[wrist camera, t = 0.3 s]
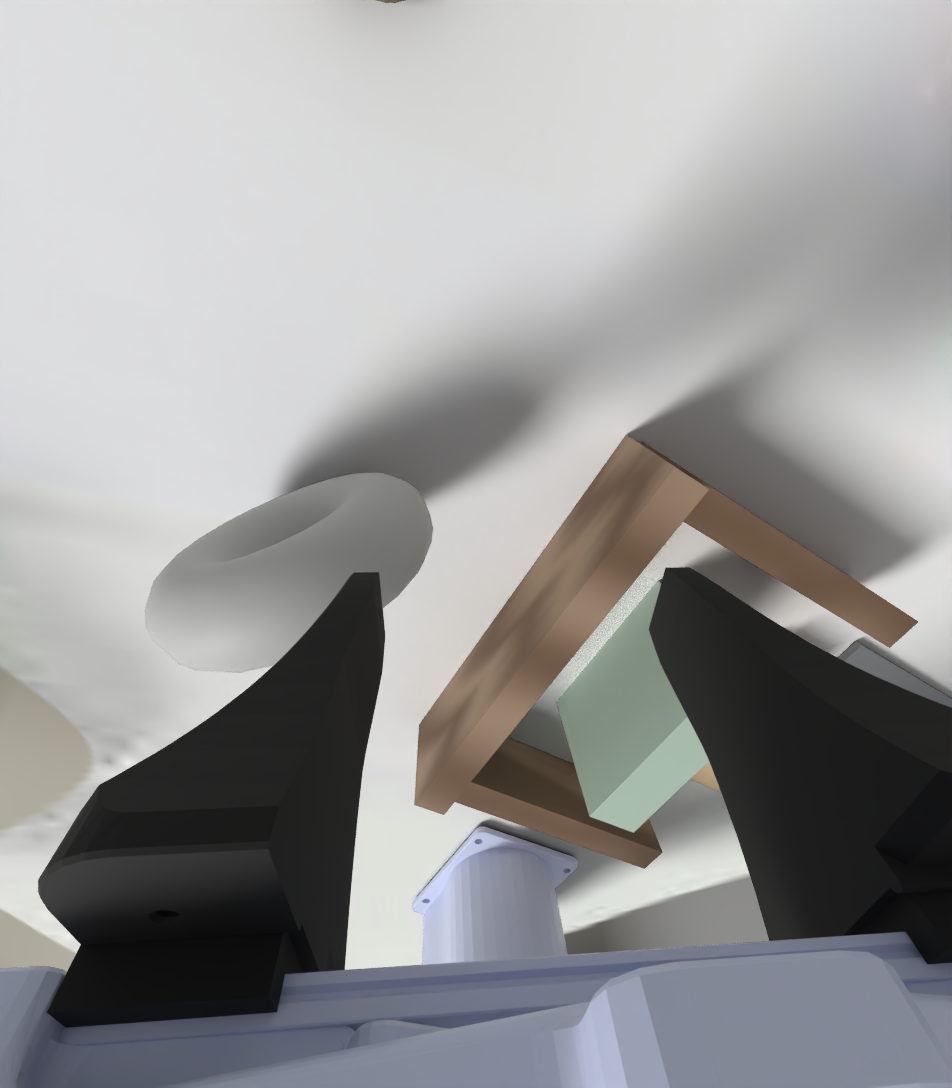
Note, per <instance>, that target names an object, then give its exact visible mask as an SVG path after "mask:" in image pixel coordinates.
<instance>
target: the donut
mask: <svg viewBox="0 0 952 1088" xmlns="http://www.w3.org/2000/svg"><path fill="white" fill-rule="evenodd" d="M432 532H433V526H432V522H431V517H430V514H429V511H428V508H427V506H426V503H425V501H424V500H423V498H422V496H421V495H420V493H419V491H418V490H417V489H415V488H414V487H413V486H412V485H411V484H409V483H408V482H406V481H404V480H401V479H399V478H396V477H394V476H391V475H387V474H384V473H354V474H349V475H345V476H340V477H335V478H331V479H328V480H325V481H321V482H318V483H315V484H312V485H309V486H306V487H303V488H300V489H298V490H295V491H293V492H290V493H287V494H285V495H282V496H280V497H277V498H275V499H273V500H271V501H268V502H266V503H264V504H262V505H260V506H257V507H255V508H253V509H251V510H249V511H247V512H245V513H243V514H241V515H239V516H237V517H235V518H233V519H232V520H230V521H228V522H226V523H224V524H222V525H220V526H219V527H217V528H216V529H214V530H212V531H211V532H209V533H207V534H206V535H204V536H202V537H201V538H199V539H198V540H196V541H195V542H194V543H192V544H191V545H190V546H188V547H187V548H186V549H184V550H183V551H182V552H180V553H179V554H178V555H176V556H175V558H174V559H173V560H172V561H171V562H170V563H169V564H168V565H167V566H166V567H165V568H164V569H163V571H162V572H161V573H160V574H159V575H158V577H157V578H156V579H155V580H154V582H153V585H152V588H151V591H150V594H149V597H148V601H147V604H146V608H145V622H146V628H147V630H148V632H149V634H150V636H151V638H152V641H153V642H154V643H155V644H156V645H158V646H159V647H160V648H161V649H162V650H163V651H164V652H165V653H166V654H168V655H169V656H170V657H171V658H172V659H173V660H175V661H176V662H177V663H178V664H180V665H182V666H185V667H187V668H190V669H192V670H195V671H212V672H232V673H242V672H246V671H251V670H255V669H260V668H264V667H269V666H273V665H275V664H276V663H277V662H278V661H279V660H280V659H281V658H282V657H283V656H284V655H285V654H286V653H287V652H288V651H289V650H290V649H291V648H292V647H293V645H294V644H295V643H296V642H297V641H298V640H299V639H300V638H301V637H302V636H303V635H304V634H305V633H306V632H307V630H308V629H309V628H310V627H311V626H312V625H313V623H314V622H315V621H316V620H317V619H318V617H319V616H320V615H321V614H322V613H323V611H324V610H325V609H326V608H327V606H328V605H329V604H330V603H331V601H332V600H333V599H334V597H335V596H336V595H337V593H338V592H339V591H340V589H341V588H342V587H343V585H344V584H345V582H346V581H347V580H348V578H349V577H350V576H351V575H352V574H353V573H354V572H379V576H380V586H381V597H382V608H383V607H385V606H386V605H387V604H389V603H390V602H391V601H392V600H394V599H395V598H396V597H397V596H398V595H399V594H400V593H401V592H402V591H403V589H404V588H405V587H406V586H407V585H408V584H409V582H410V581H411V580H412V579H413V578H414V577H415V575H416V574H417V573H418V571H419V570H420V568H421V566H422V564H423V562H424V559H425V557H426V554H427V552H428V549H429V546H430V544H431V540H432Z"/></svg>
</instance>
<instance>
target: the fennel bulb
mask: <svg viewBox="0 0 952 1088" xmlns="http://www.w3.org/2000/svg"><path fill="white" fill-rule="evenodd" d="M378 1H381V2H385V3H389V2H391V3H396V2H399V1H404V0H378Z"/></svg>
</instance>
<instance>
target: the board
mask: <svg viewBox="0 0 952 1088" xmlns="http://www.w3.org/2000/svg"><path fill="white" fill-rule="evenodd" d="M660 586H661V582H659V581H657V583H656V584H655V585H654V586H653V587H652V589H651V590H650V591H649V592H648V593H647V595H646V596H645V597H644V598H643V599H642V601H641V602H640V603H639V604H638V605H637V607H636V608H635V609H634V610H633V611H632V613H631V614H630V615H629V616H628V617H627V618H626V620H625V621H624V622H623V623H622V624H621V626H620V627H619V628H618V629H617V630H616V632H615V633H614V634H613V635H612V636H611V638H610V639H609V640H608V641H607V642H606V644H605V645H604V646H603V647H602V648H601V650H600V651H599V652H598V653H597V654H596V656H595V657H594V658H593V659H592V660H591V662H590V663H589V664H588V665H587V666H586V668H585V669H584V670H583V671H582V672H581V674H580V675H579V676H578V677H577V678H576V680H575V681H574V682H573V683H572V684H571V685H570V687H569V688H568V689H567V690H566V691H565V693H564V694H563V695H562V696H561V697H560V699H559V700H558V701H557V702H556V703H557V707H558V710H559V713H560V717H561V720H562V724H563V727H564V731H565V734H566V738H567V741H568V744H569V748H570V751H571V755H572V758H573V762H574V765H575V768H576V772H577V775H578V779H579V782H580V786H581V789H582V792H583V796H584V799H585V803H586V806H587V810H588V813H589V816H590V817H592V818H595V819H598V820H600V821H603V822H606V823H609V824H611V825H614V826H617V827H619V828H622V829H625V830H627V831H630V832H633V833H634V832H635V831H636V830H637V829H638V828H639V827H640V826H641V825H642V824H643V823H644V822H645V821H646V820H647V819H648V818H650V817H651V816H652V815H653V814H654V813H655V812H656V811H657V810H658V809H659V808H660V807H661V806H662V805H663V804H664V803H665V802H666V801H667V800H668V799H670V798H671V797H672V796H673V795H674V794H675V793H676V792H677V791H678V790H679V789H680V788H681V787H682V786H683V785H684V784H685V783H686V782H687V781H688V780H690V779H691V778H692V777H693V776H694V775H695V774H696V773H697V772H698V771H699V770H700V769H701V768H702V767H703V766H704V765H705V764H706V763H707V762H708V761H709V759H708V757H707V755H706V753H705V751H704V749H703V746H702V744H701V742H700V740H699V738H698V736H697V734H696V732H695V730H694V729H693V727H692V725H691V723H690V721H689V719H688V717H687V715H686V713H685V711H684V709H683V707H682V705H681V703H680V702H679V700H678V698H677V696H676V694H675V692H674V690H673V688H672V686H671V684H670V682H669V680H668V678H667V676H666V674H665V672H664V670H663V668H662V666H661V664H660V661H659V659H658V656H657V653H656V650H655V647H654V644H653V641H652V638H651V635H650V632H649V626H650V622H651V619H652V615H653V612H654V608H655V604H656V601H657V597H658V594H659V590H660Z"/></svg>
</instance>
